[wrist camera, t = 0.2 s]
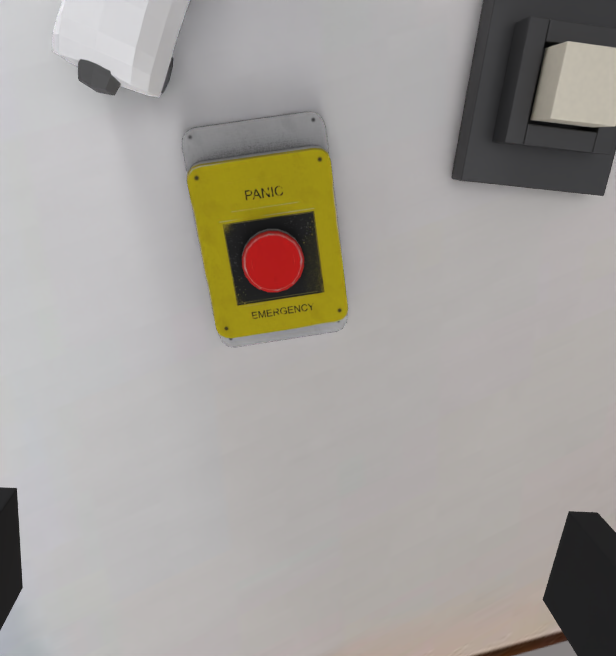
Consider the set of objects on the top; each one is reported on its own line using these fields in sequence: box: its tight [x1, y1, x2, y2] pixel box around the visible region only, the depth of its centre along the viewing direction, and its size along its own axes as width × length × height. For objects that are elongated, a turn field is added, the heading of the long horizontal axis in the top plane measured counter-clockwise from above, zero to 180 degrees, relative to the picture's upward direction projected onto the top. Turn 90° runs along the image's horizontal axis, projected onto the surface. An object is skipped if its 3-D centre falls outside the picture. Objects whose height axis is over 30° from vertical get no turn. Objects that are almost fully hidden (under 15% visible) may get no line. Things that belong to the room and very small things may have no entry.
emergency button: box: [182, 112, 348, 347], centre depth 37 cm, size 9×4×15 cm
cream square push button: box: [530, 41, 616, 127], centre depth 33 cm, size 4×4×3 cm
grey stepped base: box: [452, 0, 616, 196], centre depth 36 cm, size 12×10×4 cm
